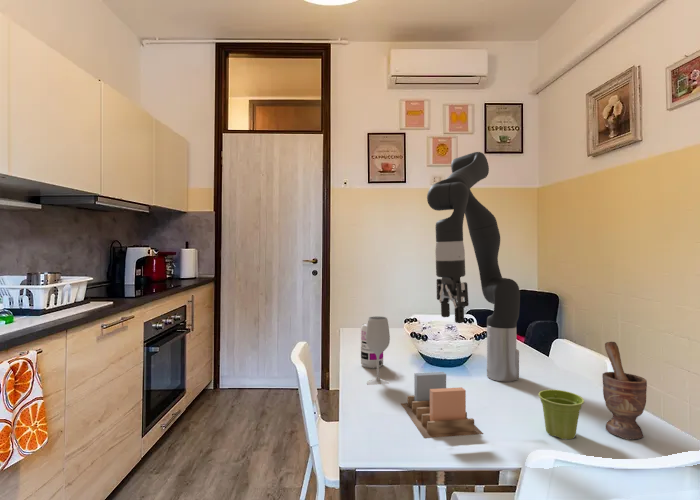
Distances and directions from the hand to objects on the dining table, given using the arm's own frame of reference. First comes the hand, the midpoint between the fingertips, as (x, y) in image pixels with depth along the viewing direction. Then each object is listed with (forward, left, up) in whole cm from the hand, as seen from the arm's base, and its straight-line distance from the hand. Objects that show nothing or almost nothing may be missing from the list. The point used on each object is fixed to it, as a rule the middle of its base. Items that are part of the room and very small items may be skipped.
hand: (452, 319), depth 108 cm
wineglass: (+15, -24, -25) cm, 37 cm away
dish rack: (+6, +6, -24) cm, 26 cm away
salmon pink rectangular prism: (+6, +12, -23) cm, 27 cm away
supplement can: (+13, -44, -25) cm, 52 cm away
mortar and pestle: (-35, +16, -25) cm, 46 cm away
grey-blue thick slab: (+6, 0, -23) cm, 24 cm away
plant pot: (-20, +16, -25) cm, 35 cm away
